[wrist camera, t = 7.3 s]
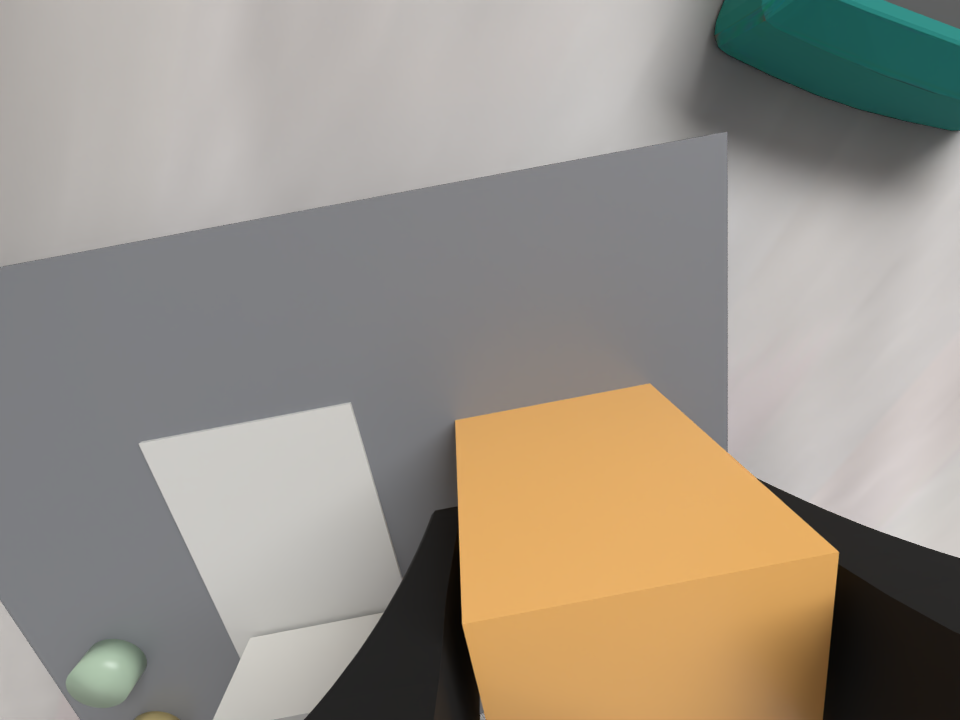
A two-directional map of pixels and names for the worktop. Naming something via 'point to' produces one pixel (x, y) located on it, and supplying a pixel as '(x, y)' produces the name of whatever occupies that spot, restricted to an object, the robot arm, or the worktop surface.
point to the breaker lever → (292, 670)
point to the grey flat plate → (319, 400)
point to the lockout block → (633, 570)
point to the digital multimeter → (855, 52)
